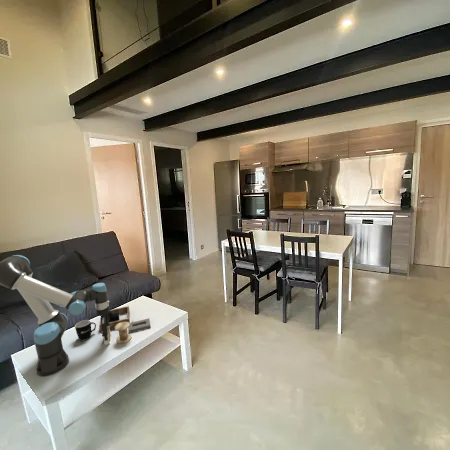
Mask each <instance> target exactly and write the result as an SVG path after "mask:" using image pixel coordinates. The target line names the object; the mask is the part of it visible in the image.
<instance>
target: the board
mask: <svg viewBox="0 0 450 450" xmlns="http://www.w3.org/2000/svg"><path fill="white" fill-rule="evenodd" d="M151 328H152V327H151V320H150V317H149V318H145V319H142V320H137V321H132V322H131V321H130V326H129V327H128V334H131V333H135V332H139V331H144V330H147V329H151Z"/></svg>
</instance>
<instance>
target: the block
mask: <svg viewBox="0 0 450 450" xmlns="http://www.w3.org/2000/svg"><path fill="white" fill-rule="evenodd" d="M107 332H108V336H109V342H110V341H111V336H110V334H111V332H110V333H109V327H107Z"/></svg>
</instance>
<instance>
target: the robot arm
mask: <svg viewBox="0 0 450 450" xmlns="http://www.w3.org/2000/svg"><path fill="white" fill-rule="evenodd" d="M30 261H31V260H29V259H28V257H25V256H24V255H21V254H16V255H15V254H13V255H11V256H8V257H6V258H4V259H3V260H1V261H0V286H2V287H4V288H7V289H10V290H12V291H13V290H17V291H18V292H19V294H20V295H21V296H22V298H23V299H24V301H25V302H26V304H27V305H28V307H29V308H30V309H31V310H32V312H33V314H34V315H35V317H36V318H37V319H38V321H37V325H38V327H37V328H36V329H35V330H34V332H33V342H34V345H35V351H36V355H37V363H36V368H35V370H36V375H38V376H40V377H48V376H51V375H53V374H56V373H58V372H60V371H62V370H63V369H64V368H66V366H67V365H68V364H69V362H70V358H69V355H68V353H67V352H66V351H65V349H64V347H63V342H62V339H63V335H64V333H65V332H66V330H67V328H68V324H69V319H68V317H67V315H66V314H64V313H61V312H60V311H59V310H58V309H54V307H53V306H52V304H54V305H57V306H59V307H62V308H65V309H66V310H68V312H69V313H70V314H71V315H73V316H79V315H81V314H82V313H84V310H85V309H86V306H87V303H88V302H94V305H95V311H96V315H97V316H98V317H100V320H101V325H102V332H101V333H102V335H101V337H102V338H103V342H104V345H105V346H108V345H110V341H109V336H108V332H107V327H109V325H110V324H109V320H108V313H109V312H110V310H111V309H110V304H109V303H110V300H109V297H108V290H107V286H106V283H104V282H98V283H95V284H93V285H92V287H91V288H87V289H79V290H76V291H75V290H74V291H73V292H71V293H69V292H67V291H65V290H61V289H59V288H57V287H55V286H52V285H50V284H47V283H46V282H43V281H42V280H38V279H36V278H33V273H34V272H33V271H32V269H31V268H30V267H31V262H30ZM51 303H52V304H51ZM100 320H99V321H100ZM109 333H110V337H111V335H112V334H111V330H110V328H109Z"/></svg>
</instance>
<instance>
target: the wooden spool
mask: <svg viewBox="0 0 450 450" xmlns="http://www.w3.org/2000/svg"><path fill="white" fill-rule="evenodd" d="M130 323H131V322H130ZM130 323H129V322H121V323H119V324H117V325H116V326H115V329H114V330H115V331H117V332H118V337H117V338H116V344H120V345H122V344H126V343H129V342H130V341H131V339H132V335H131V333H129V332H128V329H129V326H130Z"/></svg>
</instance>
